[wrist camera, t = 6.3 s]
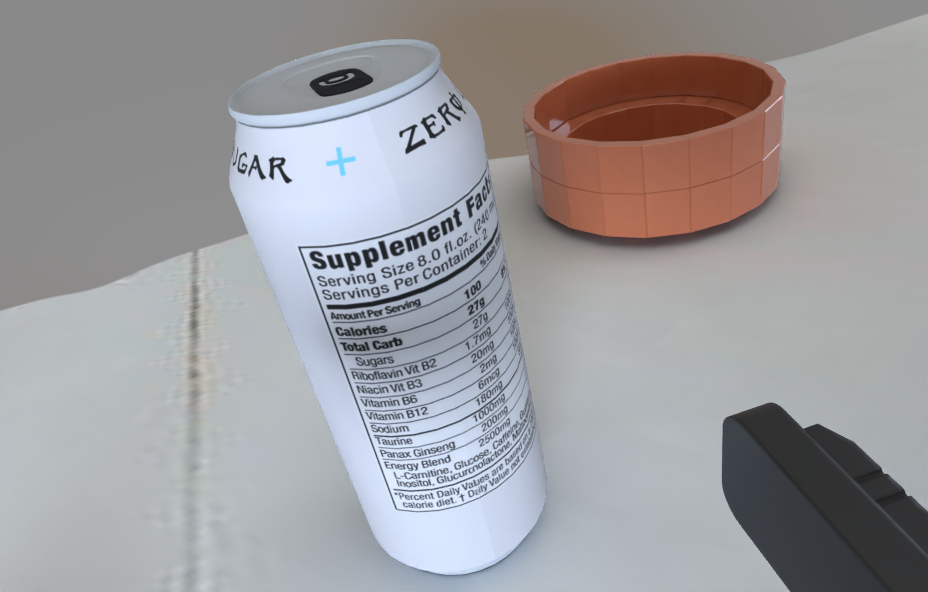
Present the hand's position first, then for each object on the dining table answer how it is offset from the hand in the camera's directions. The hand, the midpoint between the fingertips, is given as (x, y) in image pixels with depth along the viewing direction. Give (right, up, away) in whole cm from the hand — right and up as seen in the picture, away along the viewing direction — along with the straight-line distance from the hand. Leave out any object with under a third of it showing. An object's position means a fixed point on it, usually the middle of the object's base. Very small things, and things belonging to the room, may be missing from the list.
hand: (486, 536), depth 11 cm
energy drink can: (0, -4, +13) cm, 14 cm away
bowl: (+10, +10, +30) cm, 33 cm away
